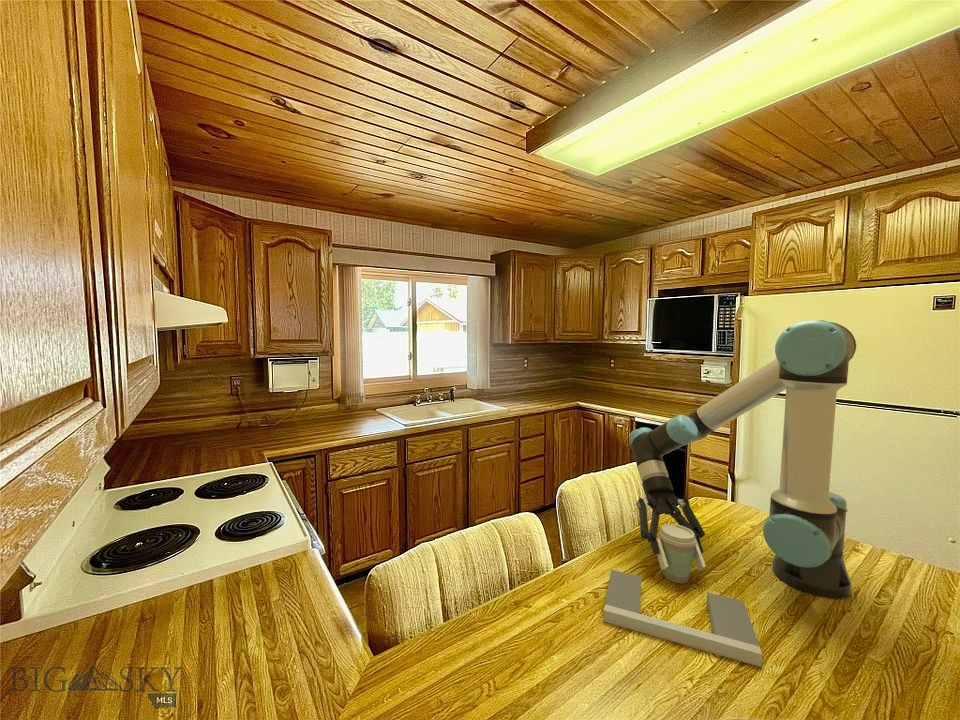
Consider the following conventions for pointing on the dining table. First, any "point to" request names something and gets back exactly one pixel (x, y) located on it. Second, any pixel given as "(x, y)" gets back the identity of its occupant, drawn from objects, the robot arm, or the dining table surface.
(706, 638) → the u-shaped bracket
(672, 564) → the coffee cup
